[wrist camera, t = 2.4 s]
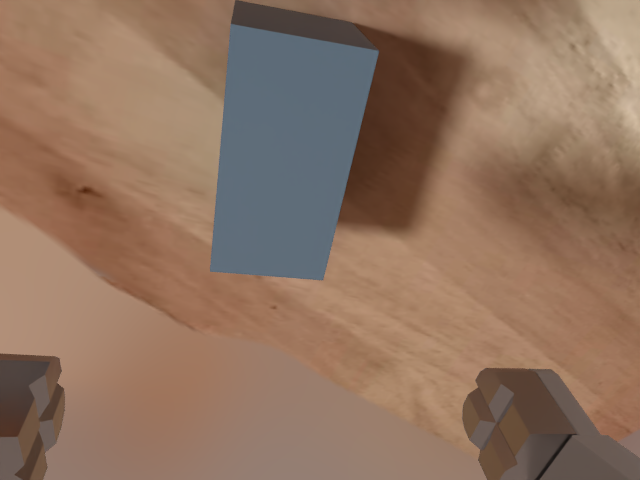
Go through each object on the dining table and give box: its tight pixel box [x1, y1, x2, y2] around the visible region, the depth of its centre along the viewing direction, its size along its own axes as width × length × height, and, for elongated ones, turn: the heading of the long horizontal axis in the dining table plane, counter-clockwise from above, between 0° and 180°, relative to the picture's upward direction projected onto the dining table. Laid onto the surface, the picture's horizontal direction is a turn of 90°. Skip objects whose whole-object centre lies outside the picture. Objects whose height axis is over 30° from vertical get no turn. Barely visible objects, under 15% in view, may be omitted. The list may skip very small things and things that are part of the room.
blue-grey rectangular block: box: [210, 0, 379, 280], centre depth 19 cm, size 4×11×5 cm, turn 169°
